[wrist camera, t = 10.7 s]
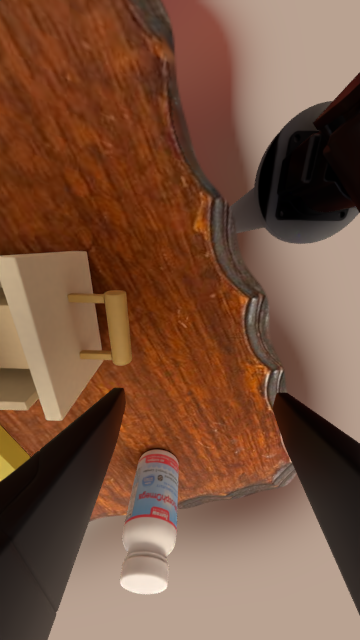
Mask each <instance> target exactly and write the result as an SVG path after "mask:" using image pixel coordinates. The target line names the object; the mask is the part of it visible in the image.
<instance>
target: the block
mask: <svg viewBox="0 0 360 640" xmlns="http://www.w3.org/2000/svg"><path fill="white" fill-rule="evenodd" d="M0 368H16V369H29V366H28V363H27V360H26V357H25V354H24V351H23V348H22V345H21V342H20V339H19V336H18V333H17V330H16V327H15V324H14V321H13V318H12V315H11V312H10V309H9V306H8V303H7V300H6V297H5V294H4V291H3V288H0Z"/></svg>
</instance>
